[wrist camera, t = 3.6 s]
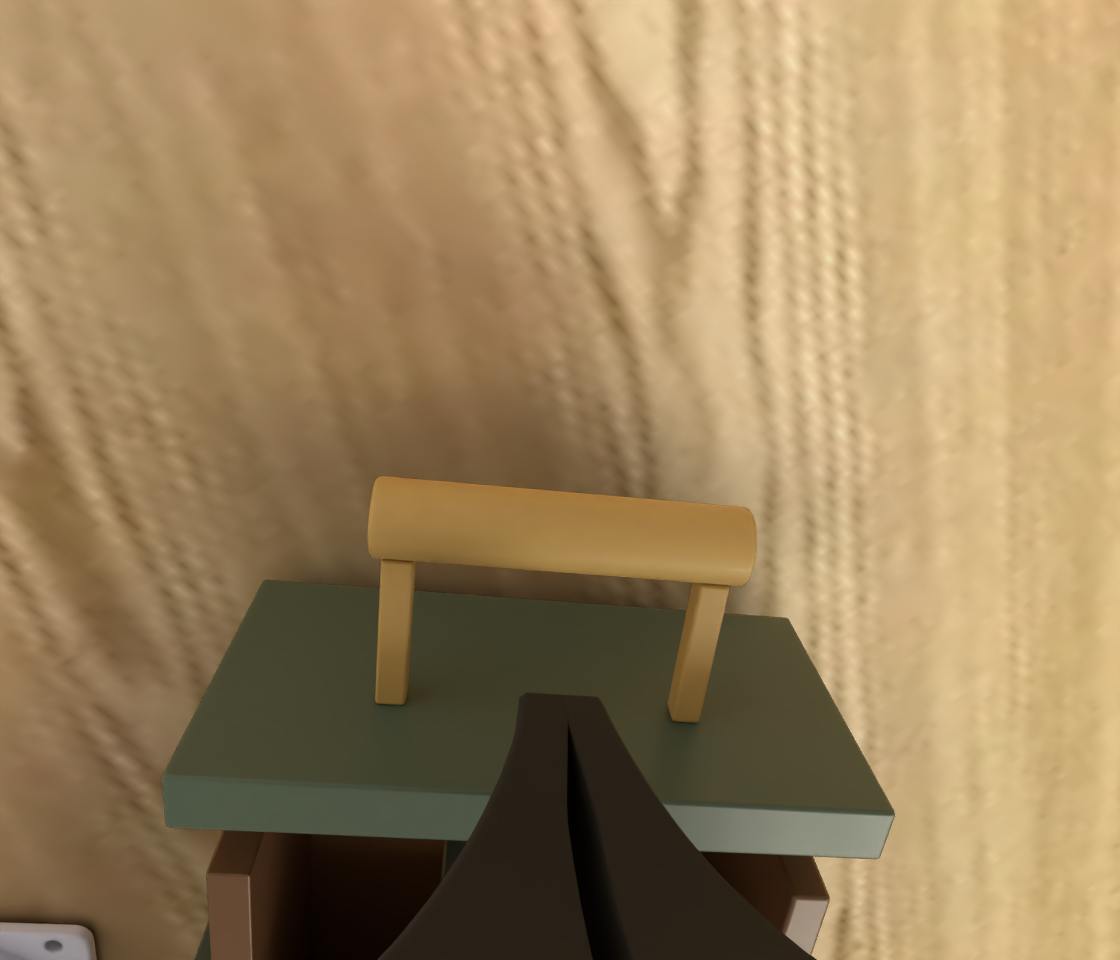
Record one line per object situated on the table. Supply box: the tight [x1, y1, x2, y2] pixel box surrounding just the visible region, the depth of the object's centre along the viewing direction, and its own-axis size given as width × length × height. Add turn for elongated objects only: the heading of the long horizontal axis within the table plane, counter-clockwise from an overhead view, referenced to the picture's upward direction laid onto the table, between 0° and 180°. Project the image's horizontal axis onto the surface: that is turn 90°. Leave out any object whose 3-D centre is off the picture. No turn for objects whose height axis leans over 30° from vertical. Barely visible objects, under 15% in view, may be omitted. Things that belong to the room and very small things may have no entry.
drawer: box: [162, 476, 895, 960], centre depth 20 cm, size 18×13×7 cm
